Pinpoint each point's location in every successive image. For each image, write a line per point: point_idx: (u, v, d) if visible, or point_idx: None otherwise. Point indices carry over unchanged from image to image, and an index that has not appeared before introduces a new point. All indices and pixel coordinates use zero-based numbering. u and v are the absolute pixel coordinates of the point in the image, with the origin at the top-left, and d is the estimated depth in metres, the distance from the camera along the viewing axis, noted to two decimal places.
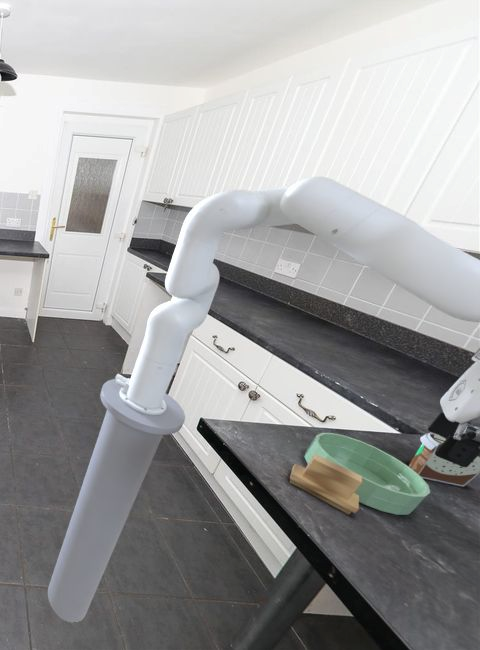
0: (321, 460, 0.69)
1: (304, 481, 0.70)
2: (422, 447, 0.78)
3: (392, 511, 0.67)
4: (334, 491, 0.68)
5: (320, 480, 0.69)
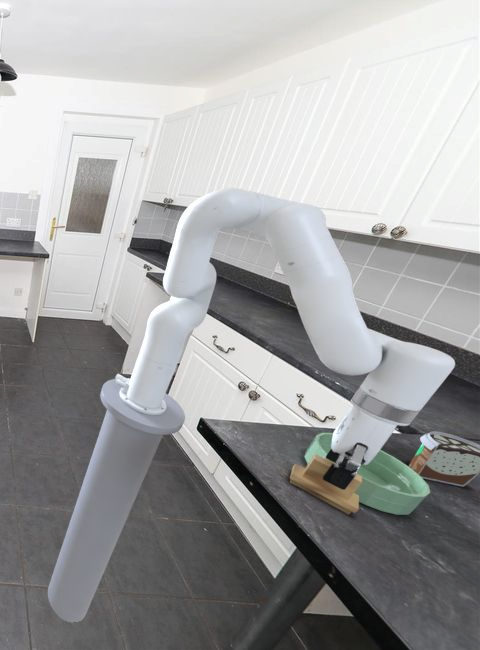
0: (321, 460, 0.69)
1: (304, 481, 0.70)
2: (422, 447, 0.78)
3: (392, 511, 0.67)
4: (334, 491, 0.68)
5: (320, 480, 0.69)
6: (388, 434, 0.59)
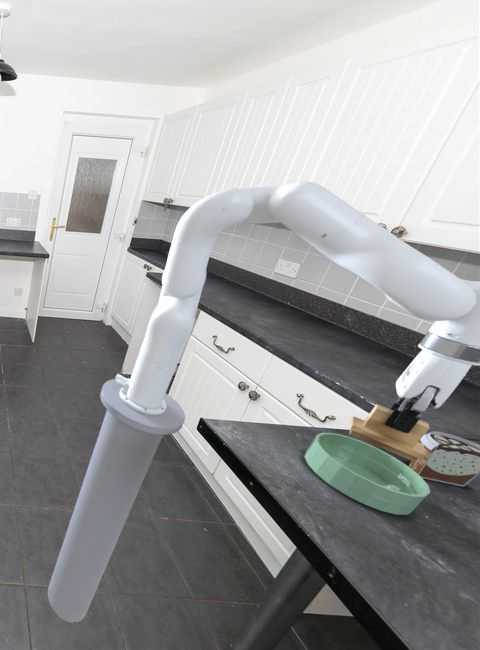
0: (384, 409, 0.69)
1: (366, 431, 0.70)
2: None
3: (392, 511, 0.67)
4: (398, 439, 0.68)
5: (383, 429, 0.69)
6: (462, 374, 0.58)
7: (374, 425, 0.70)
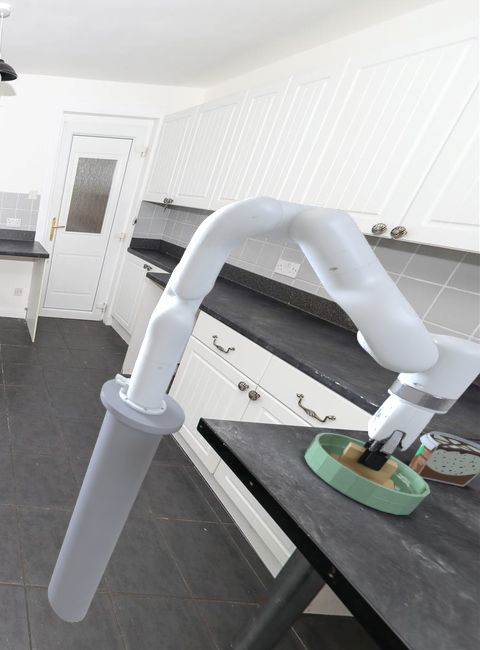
0: (357, 447, 0.73)
1: None
2: (422, 447, 0.78)
3: (392, 511, 0.67)
4: (370, 476, 0.72)
5: (356, 466, 0.73)
6: (426, 421, 0.63)
7: (348, 462, 0.74)
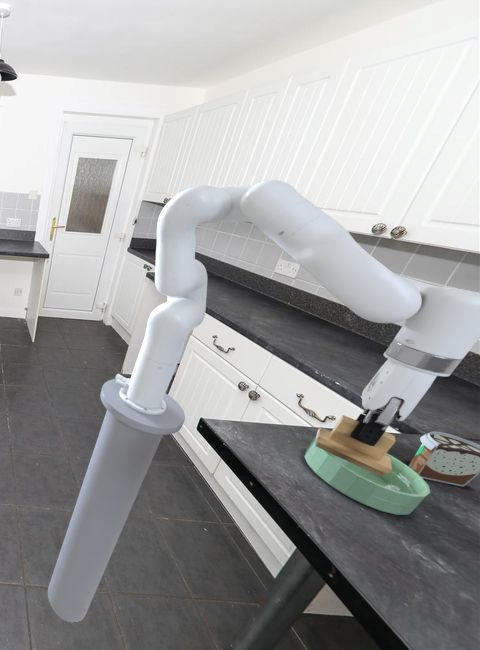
0: (350, 421, 0.65)
1: (332, 444, 0.66)
2: (422, 447, 0.78)
3: (392, 511, 0.67)
4: (364, 453, 0.64)
5: (349, 442, 0.65)
6: (427, 386, 0.55)
7: (340, 437, 0.66)
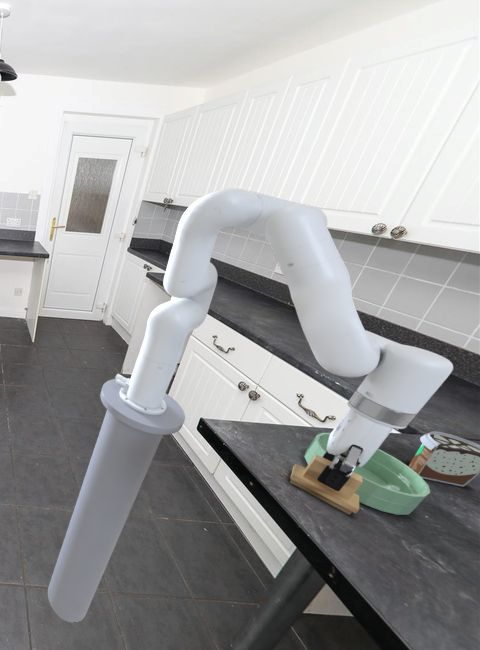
0: (321, 460, 0.69)
1: (305, 481, 0.70)
2: (422, 447, 0.78)
3: (392, 511, 0.67)
4: (334, 491, 0.68)
5: None
6: (383, 437, 0.59)
7: (312, 475, 0.70)
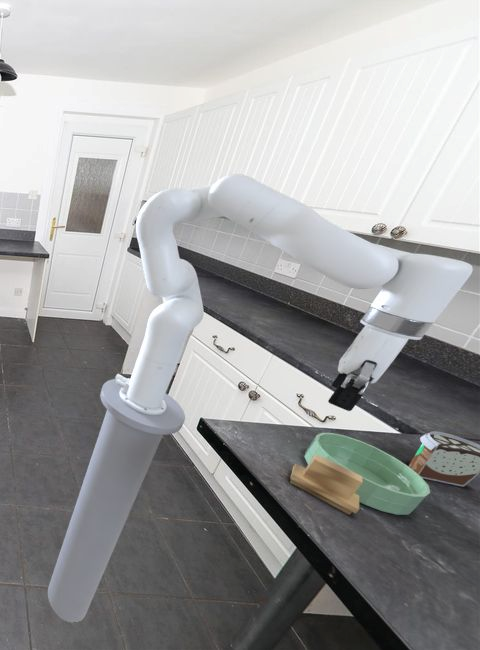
0: (321, 460, 0.69)
1: (305, 481, 0.70)
2: (422, 447, 0.78)
3: (392, 511, 0.67)
4: (334, 491, 0.68)
5: (320, 480, 0.69)
6: (398, 348, 0.57)
7: (312, 475, 0.70)
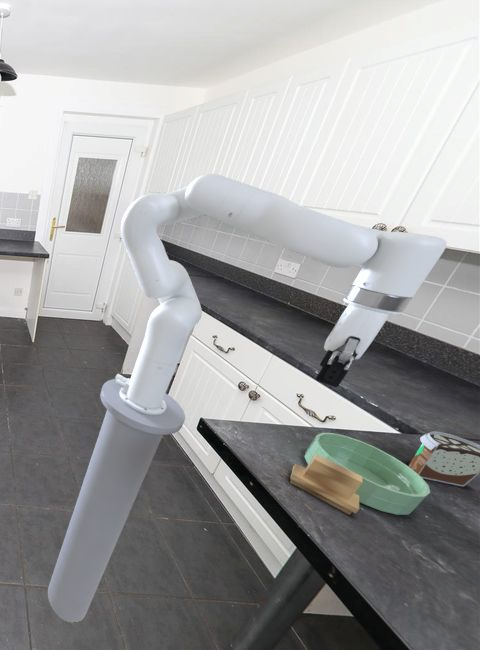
0: (321, 460, 0.69)
1: (305, 481, 0.70)
2: (422, 447, 0.78)
3: (392, 511, 0.67)
4: (334, 491, 0.68)
5: (320, 480, 0.69)
6: (380, 323, 0.59)
7: (312, 475, 0.70)
